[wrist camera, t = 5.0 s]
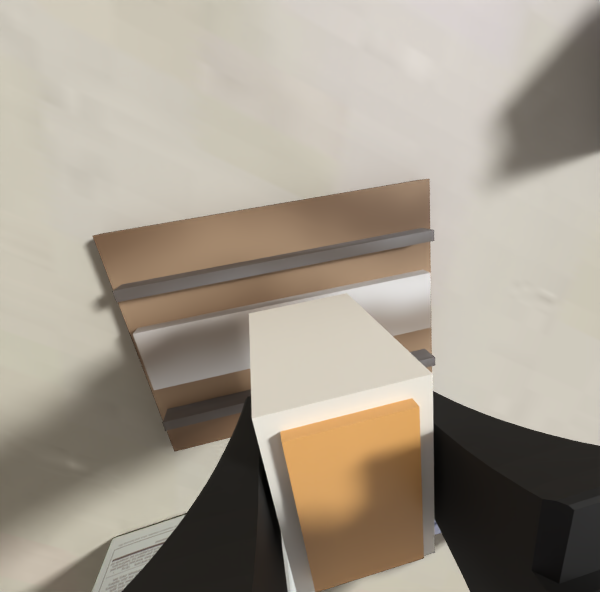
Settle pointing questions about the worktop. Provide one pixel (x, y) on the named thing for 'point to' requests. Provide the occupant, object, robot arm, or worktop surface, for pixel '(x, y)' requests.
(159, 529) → the supplement box
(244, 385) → the mounting board
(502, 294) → the worktop surface
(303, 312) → the rail module
